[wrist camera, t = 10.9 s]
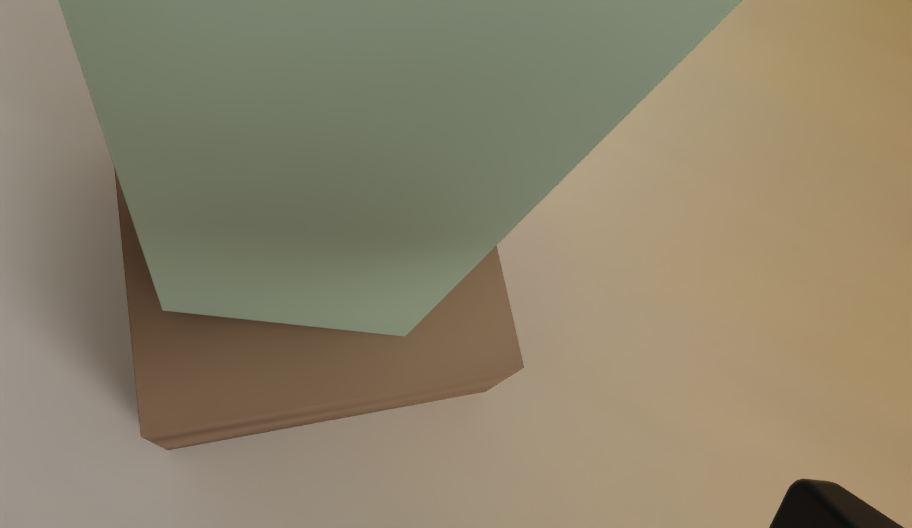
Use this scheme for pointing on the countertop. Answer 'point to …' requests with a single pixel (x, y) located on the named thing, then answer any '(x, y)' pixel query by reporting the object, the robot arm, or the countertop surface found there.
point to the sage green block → (355, 136)
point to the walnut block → (304, 359)
